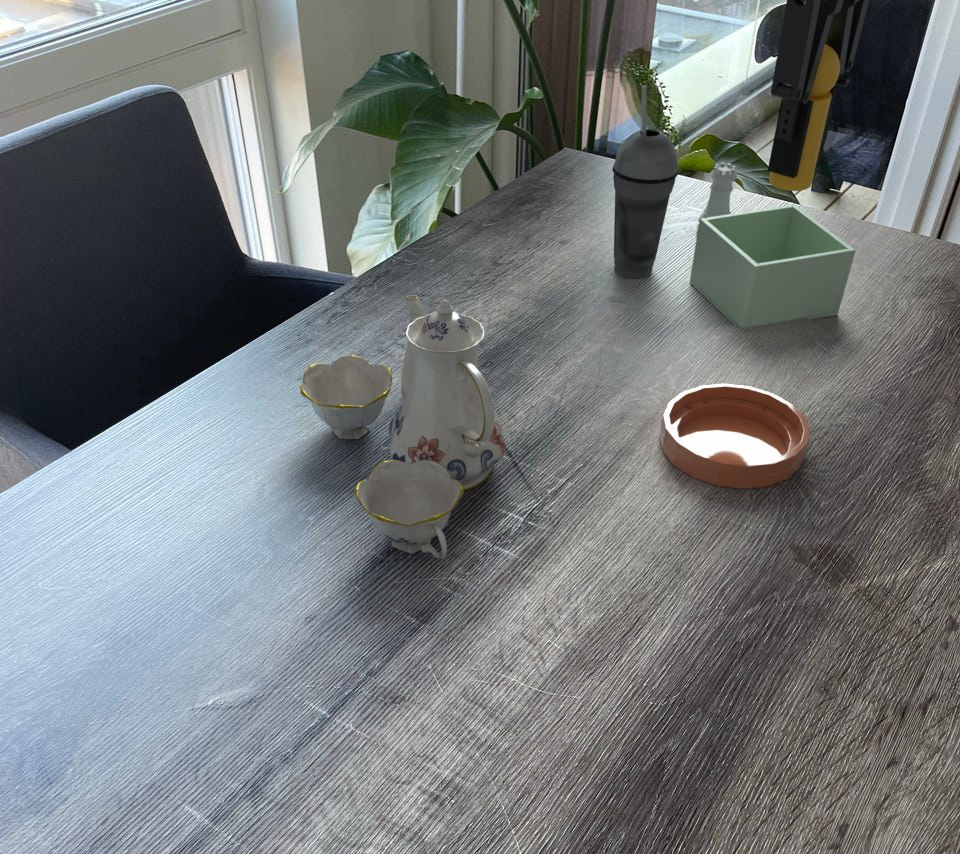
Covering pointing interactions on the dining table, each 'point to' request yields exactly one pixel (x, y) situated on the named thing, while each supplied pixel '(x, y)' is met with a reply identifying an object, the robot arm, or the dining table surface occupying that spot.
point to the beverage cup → (641, 197)
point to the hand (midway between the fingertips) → (794, 165)
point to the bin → (770, 266)
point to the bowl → (734, 435)
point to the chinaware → (417, 424)
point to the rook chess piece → (720, 191)
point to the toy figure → (813, 124)
